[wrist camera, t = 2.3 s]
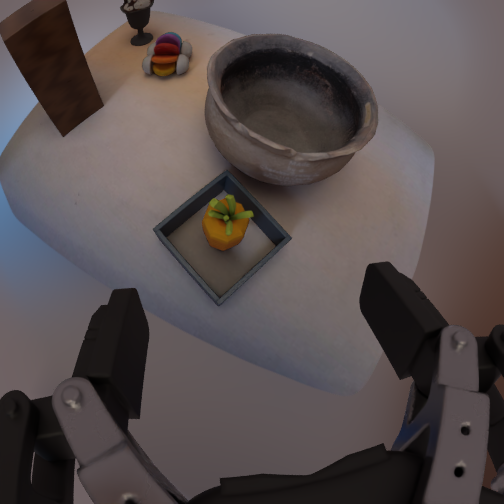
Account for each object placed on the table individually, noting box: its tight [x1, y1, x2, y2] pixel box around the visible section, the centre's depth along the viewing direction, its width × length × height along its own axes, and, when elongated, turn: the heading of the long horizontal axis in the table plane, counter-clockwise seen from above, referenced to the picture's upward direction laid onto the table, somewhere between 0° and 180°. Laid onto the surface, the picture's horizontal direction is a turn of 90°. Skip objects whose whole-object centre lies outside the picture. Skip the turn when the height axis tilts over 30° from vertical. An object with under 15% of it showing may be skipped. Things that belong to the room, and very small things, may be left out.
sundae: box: [120, 0, 154, 46], centre depth 39 cm, size 7×7×15 cm
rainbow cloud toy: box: [142, 32, 192, 76], centre depth 42 cm, size 8×10×7 cm
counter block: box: [0, 0, 104, 137], centre depth 29 cm, size 9×9×24 cm
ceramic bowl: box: [205, 34, 378, 186], centre depth 37 cm, size 22×22×15 cm
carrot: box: [202, 194, 254, 251], centre depth 33 cm, size 5×5×15 cm
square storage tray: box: [153, 170, 292, 306], centre depth 38 cm, size 12×12×5 cm
